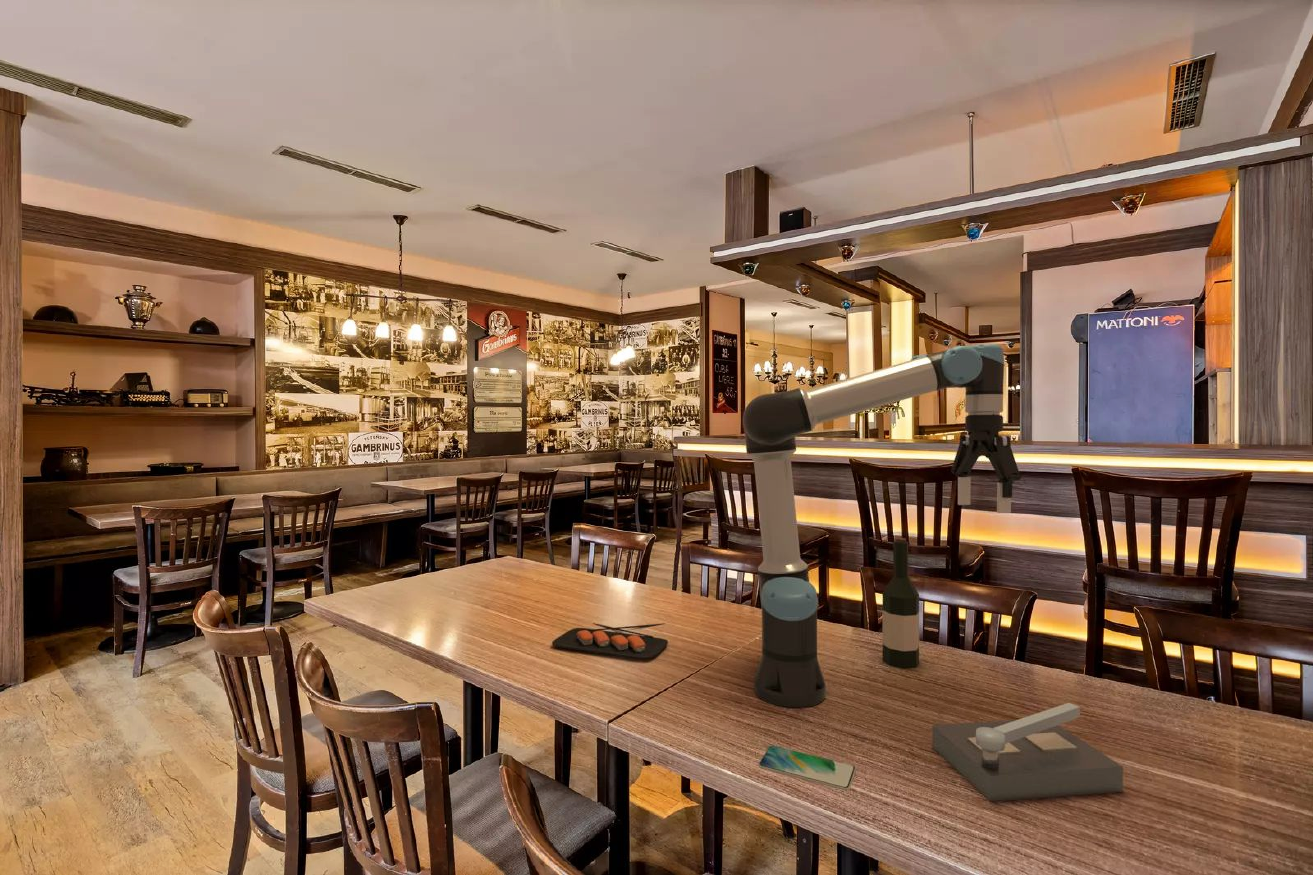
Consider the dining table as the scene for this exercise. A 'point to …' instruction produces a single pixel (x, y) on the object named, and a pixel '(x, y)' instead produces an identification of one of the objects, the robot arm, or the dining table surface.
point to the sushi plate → (612, 642)
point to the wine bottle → (900, 613)
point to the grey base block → (1028, 763)
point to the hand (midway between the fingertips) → (983, 508)
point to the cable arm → (1025, 727)
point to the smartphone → (808, 767)
